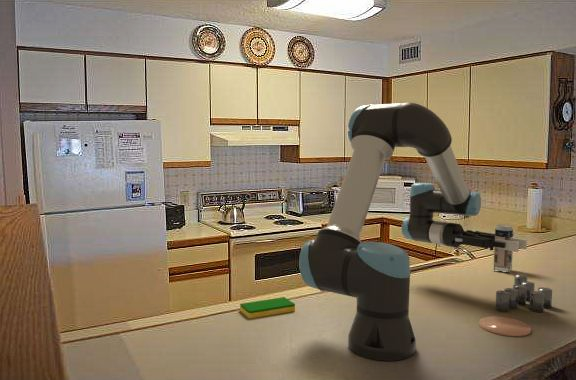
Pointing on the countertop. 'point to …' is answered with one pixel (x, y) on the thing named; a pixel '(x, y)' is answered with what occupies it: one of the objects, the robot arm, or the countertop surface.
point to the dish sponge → (267, 307)
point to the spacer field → (523, 296)
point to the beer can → (502, 256)
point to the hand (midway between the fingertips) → (522, 245)
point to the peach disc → (505, 326)
